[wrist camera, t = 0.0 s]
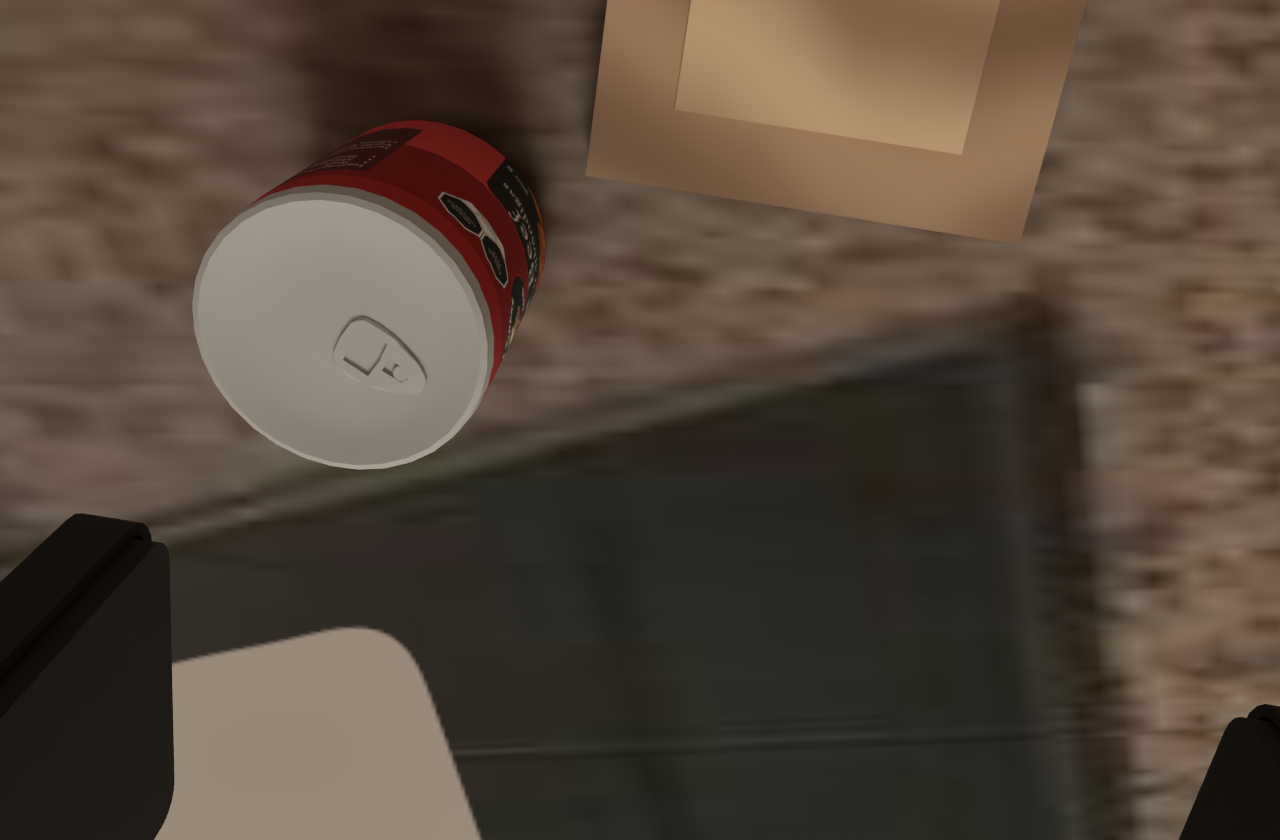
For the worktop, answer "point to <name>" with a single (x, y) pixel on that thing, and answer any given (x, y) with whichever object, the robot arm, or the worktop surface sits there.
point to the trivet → (838, 104)
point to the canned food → (372, 295)
